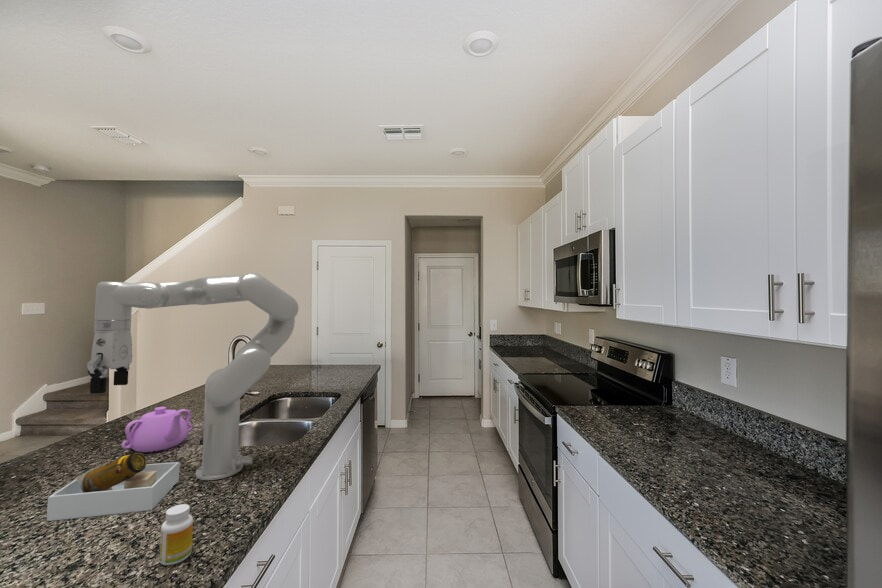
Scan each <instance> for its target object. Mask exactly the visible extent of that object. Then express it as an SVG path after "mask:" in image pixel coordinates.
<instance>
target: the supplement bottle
mask: <svg viewBox="0 0 882 588" xmlns="http://www.w3.org/2000/svg"><path fill="white" fill-rule="evenodd" d="M190 507H191V506H190V505H189V504H186V503H183V504H182V503H181V504H177V505H173V506H171V507H169V508H168V509H167V510H166V512H165V520H164V522H163V523H162V524H161V527H160V541H159V563H160V564H161V565H163V566H172V565H173V566H174V565H177V564H179V563H181V562H183V561H185V560H186V559H187V558H189V556H190V555H191V554H192V551H193V550H192V549H193V532H194V531H193V530H194V529H193V528H194V523H193V522H194V517H193V516H192V515H191V514H190V510H191V508H190Z"/></svg>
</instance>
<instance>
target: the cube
mask: <svg viewBox="0 0 882 588" xmlns="http://www.w3.org/2000/svg"><path fill="white" fill-rule="evenodd" d="M155 482H156V471H148V472H139V473H137V474H135V475H134V476H133V477H132V478H130V479H128V480H126V481H124V489H130V488H141V487H151V486H152V485H153V484H154V483H155Z"/></svg>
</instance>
